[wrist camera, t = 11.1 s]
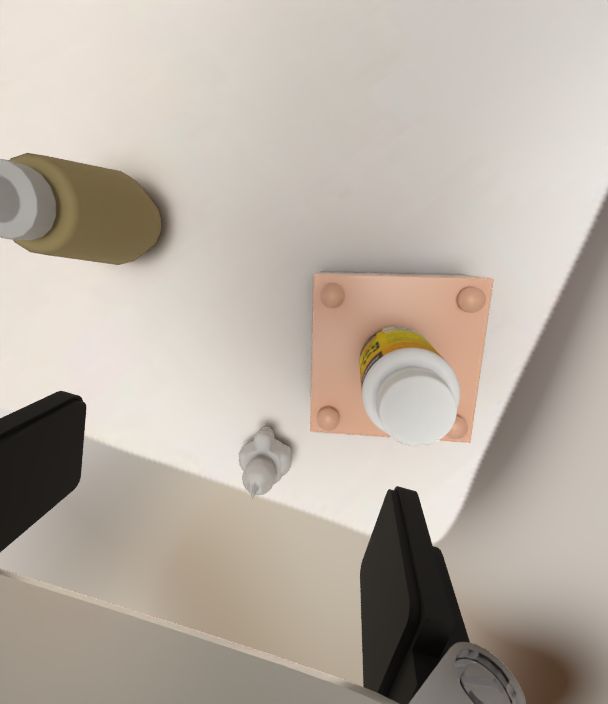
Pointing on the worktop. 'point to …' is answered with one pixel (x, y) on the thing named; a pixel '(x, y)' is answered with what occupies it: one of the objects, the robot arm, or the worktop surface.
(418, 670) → the robot arm
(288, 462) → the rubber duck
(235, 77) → the worktop surface
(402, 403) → the supplement bottle
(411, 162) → the worktop surface
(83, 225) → the squeeze bottle
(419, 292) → the pink and grey block
